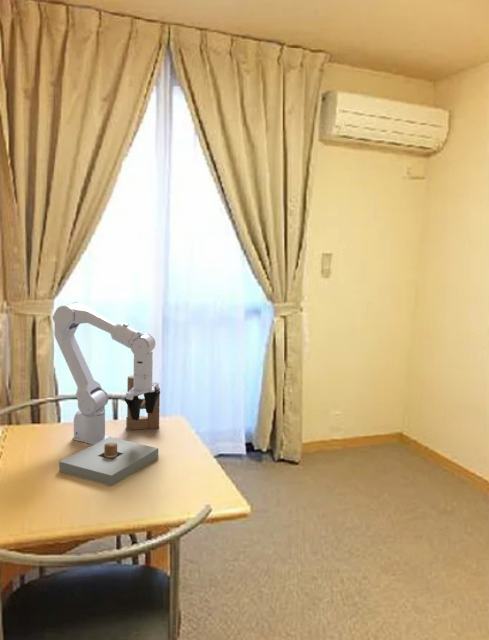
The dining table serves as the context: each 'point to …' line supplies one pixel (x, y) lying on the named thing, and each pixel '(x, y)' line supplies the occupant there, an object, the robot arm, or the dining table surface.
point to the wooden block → (142, 416)
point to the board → (108, 461)
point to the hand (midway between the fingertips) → (142, 416)
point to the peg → (110, 450)
